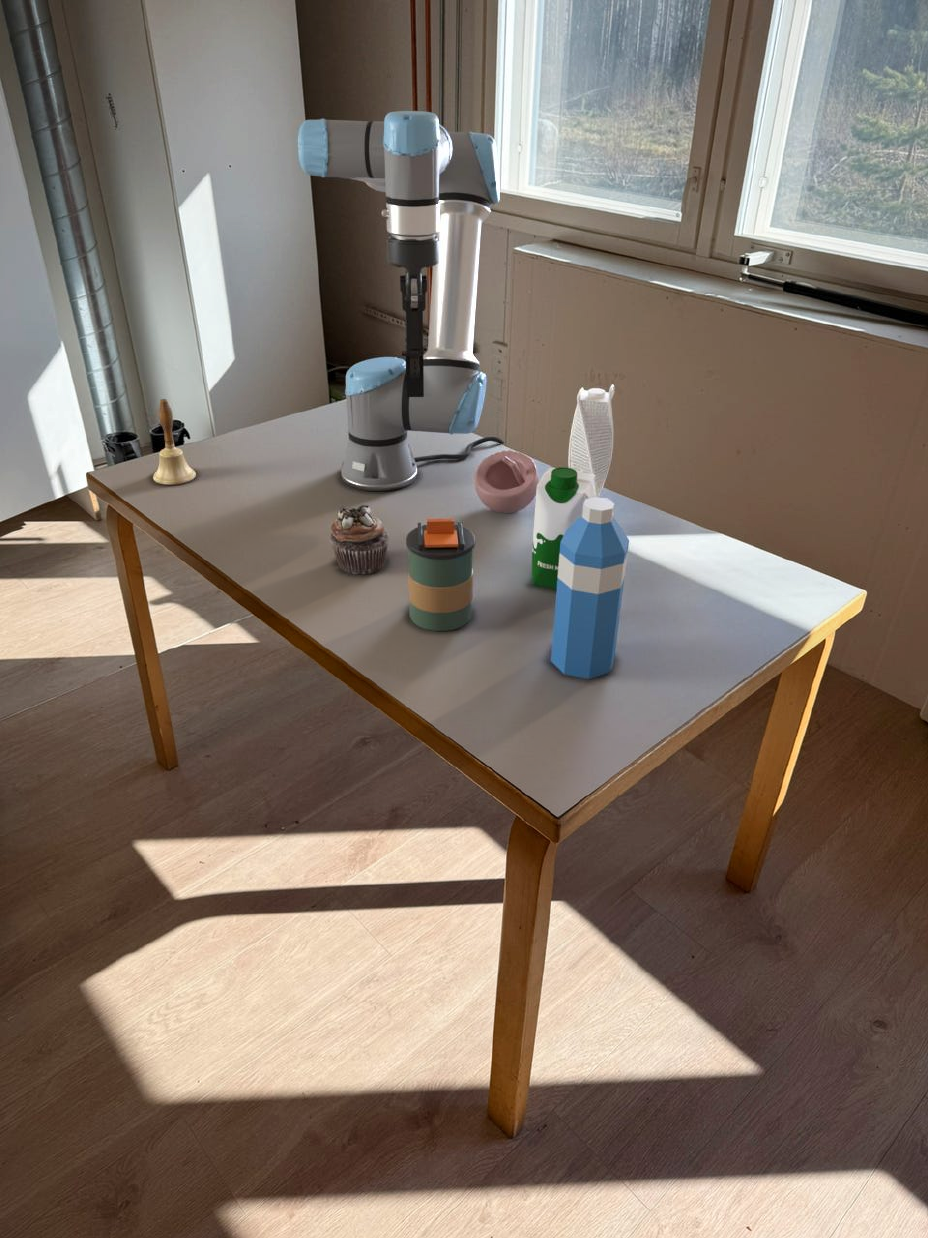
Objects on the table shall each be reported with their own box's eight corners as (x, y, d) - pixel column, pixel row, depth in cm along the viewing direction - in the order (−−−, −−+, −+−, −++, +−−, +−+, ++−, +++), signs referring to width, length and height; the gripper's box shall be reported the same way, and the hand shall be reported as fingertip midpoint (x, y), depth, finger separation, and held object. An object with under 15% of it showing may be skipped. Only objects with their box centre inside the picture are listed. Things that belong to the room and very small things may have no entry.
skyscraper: (613, 536, 166) (631, 385, 151) (580, 546, 163) (594, 392, 148) (586, 519, 172) (601, 371, 157) (554, 528, 169) (565, 378, 154)
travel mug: (408, 598, 147) (406, 528, 141) (469, 597, 148) (471, 527, 141) (408, 632, 139) (407, 560, 132) (474, 631, 140) (476, 558, 133)
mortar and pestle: (464, 517, 172) (465, 459, 166) (487, 492, 181) (488, 437, 175) (525, 529, 168) (528, 470, 162) (545, 503, 178) (549, 447, 171)
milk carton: (525, 586, 151) (532, 473, 140) (539, 561, 158) (547, 452, 147) (577, 596, 149) (589, 482, 138) (589, 570, 156) (601, 460, 145)
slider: (424, 533, 137) (424, 518, 135) (456, 533, 137) (456, 517, 136) (424, 547, 133) (424, 532, 132) (458, 547, 133) (458, 531, 132)
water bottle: (545, 643, 137) (557, 489, 124) (607, 640, 138) (625, 487, 124) (556, 680, 129) (570, 520, 116) (621, 677, 130) (642, 518, 117)
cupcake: (345, 582, 151) (342, 527, 146) (325, 556, 158) (321, 503, 153) (399, 569, 155) (397, 515, 150) (376, 545, 162) (374, 493, 157)
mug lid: (405, 528, 141) (405, 518, 140) (472, 527, 141) (472, 517, 140) (406, 560, 132) (406, 550, 131) (477, 559, 133) (477, 549, 132)
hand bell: (181, 465, 190) (169, 389, 181) (204, 476, 185) (192, 400, 177) (145, 476, 185) (131, 399, 176) (167, 489, 180) (153, 410, 172)
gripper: (386, 226, 137) (391, 381, 149) (386, 243, 126) (390, 410, 139) (437, 226, 137) (437, 381, 150) (440, 243, 126) (440, 409, 139)
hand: (415, 395), depth 144 cm, fingers closed
